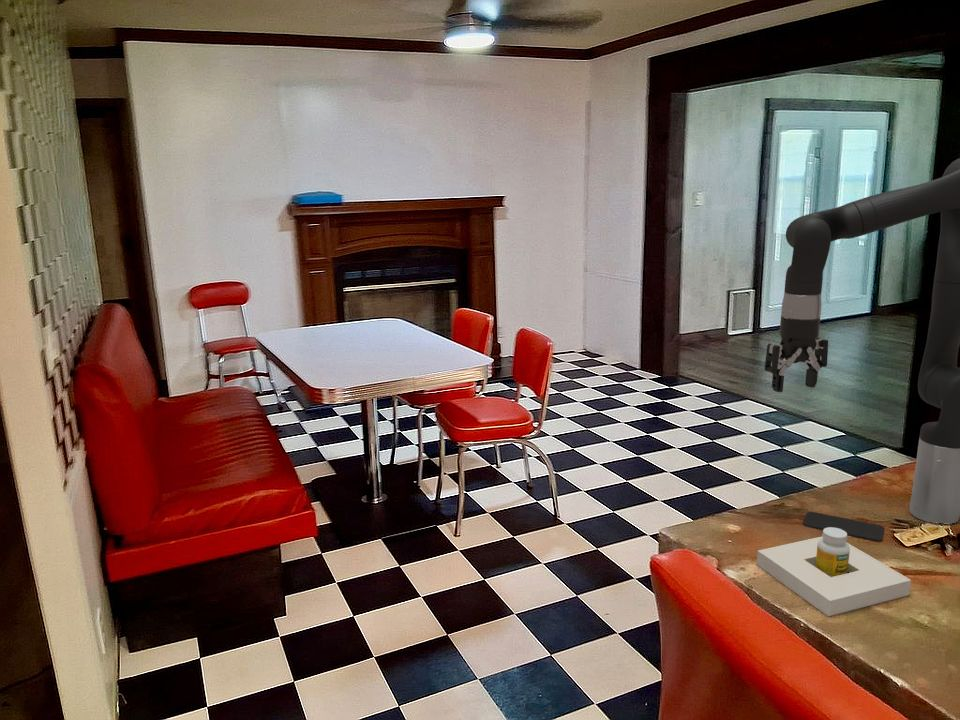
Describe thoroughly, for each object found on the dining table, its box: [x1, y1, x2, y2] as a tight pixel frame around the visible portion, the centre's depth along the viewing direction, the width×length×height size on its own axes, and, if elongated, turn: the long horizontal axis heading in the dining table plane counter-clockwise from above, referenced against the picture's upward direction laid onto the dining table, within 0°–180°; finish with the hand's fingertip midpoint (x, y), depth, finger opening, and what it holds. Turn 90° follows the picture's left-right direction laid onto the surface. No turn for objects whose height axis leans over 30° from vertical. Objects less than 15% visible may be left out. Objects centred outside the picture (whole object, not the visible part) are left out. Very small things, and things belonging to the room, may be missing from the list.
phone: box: [802, 511, 885, 543], centre depth 153 cm, size 7×1×15 cm
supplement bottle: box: [815, 527, 850, 577], centre depth 132 cm, size 5×5×10 cm
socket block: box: [756, 536, 912, 617], centre depth 133 cm, size 18×18×3 cm
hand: (793, 389), depth 154 cm, fingers open, 8 cm apart
